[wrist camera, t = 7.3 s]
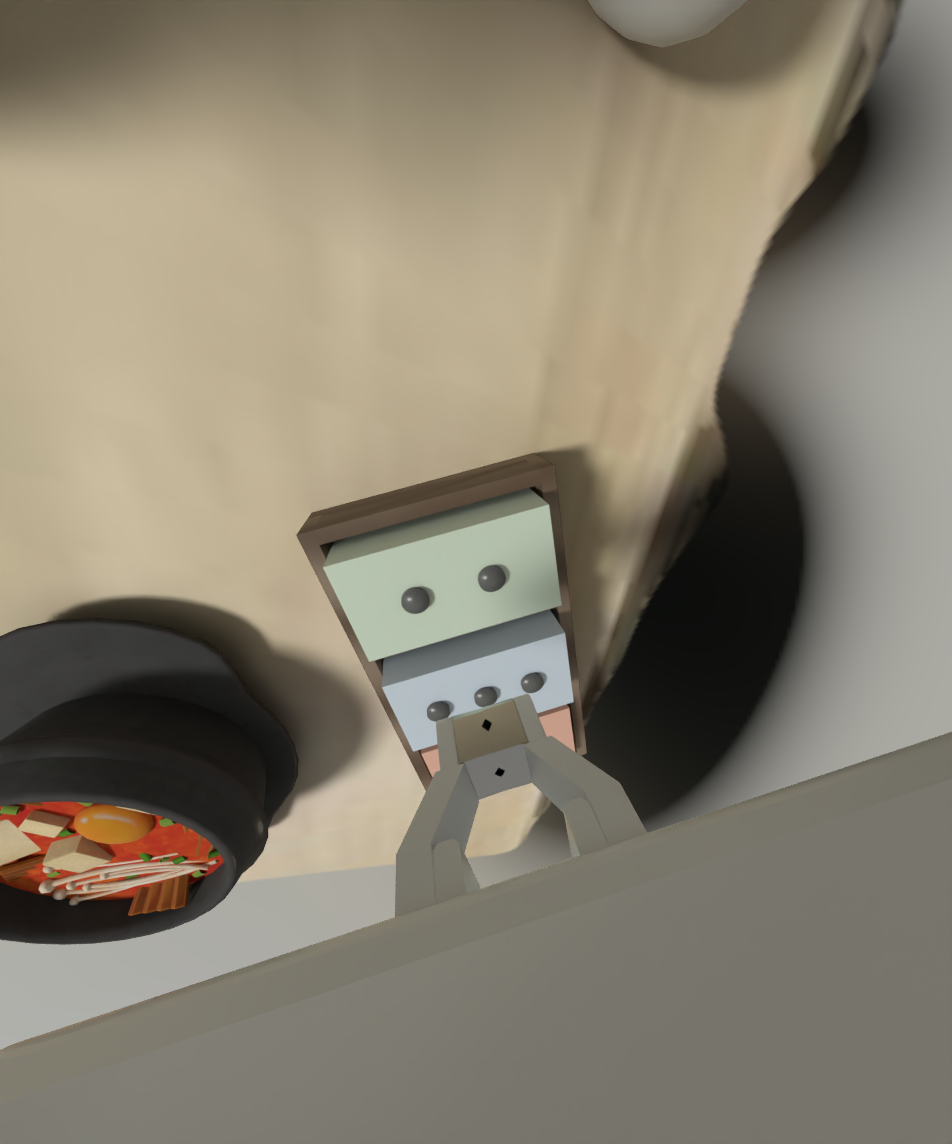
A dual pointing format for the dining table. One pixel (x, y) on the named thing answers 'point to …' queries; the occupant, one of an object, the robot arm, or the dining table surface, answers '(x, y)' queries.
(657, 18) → the donut
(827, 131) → the dining table surface
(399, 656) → the counting block
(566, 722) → the counting block
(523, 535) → the counting block
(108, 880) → the casserole
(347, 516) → the wooden counting block tray
